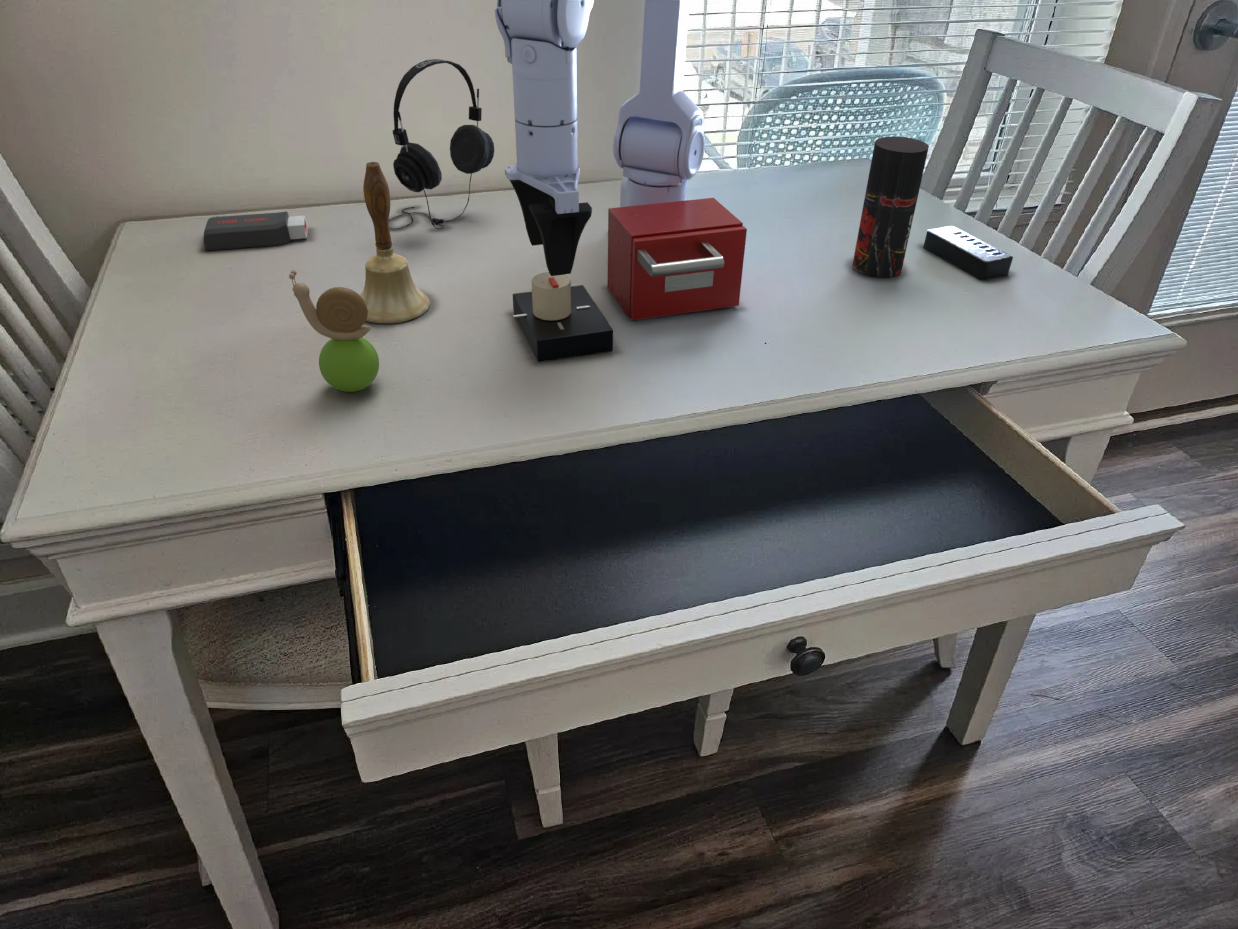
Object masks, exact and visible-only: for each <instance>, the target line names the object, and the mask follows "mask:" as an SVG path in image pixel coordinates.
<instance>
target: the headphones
mask: <svg viewBox="0 0 1238 929" xmlns="http://www.w3.org/2000/svg"><path fill="white" fill-rule="evenodd" d="M439 64H440V65H441V64H448V65H451V66H452V67H454V68H455V69H456V70H457V71H458V72H459V73H460V75H461V76H462V77H463V79H464V81H465V82H466V84H467V87H468V90H469V92H470V98H471V103H472V105H471V106H468V120H470V121H474V122H476V125H475V124H463V125H460V126H459V127H457V129H456V130H455V131H454V132H453V135H452V137H451V139H450V142H449V156H450V160H451V161H452V165H453V166H454V167H455V168H456V169H457V170H458V171H459V172H461V173H463V174H467V175H470V176H469V184H468V185H469V187H468V198H467V203H466V204H465V207H464V208H463V211H462V213H460V214H459V215H458V216H457V217H455V218H454V219H449V220H444V219H443V218H435V217H434V218H432V217H431V216H432V215H431V210H430V204H429V201H428V196H427V193H426V190H433V189H435V188H436V187H439V186H440V184H441V182H442V180H443V176H442V175H443V174H442V170H441V168H440V166H439V163H438V161H437V160H436V158H435V156H434V155H433V154H432V152H430V151H429V150H428V149H426V148H424V147H423V146H422V145H421V144H419V143H416V142H411V141H409V136H408V133H407V129H405V128H404V125H403V122H402V116H401V112H400V106H401V102H402V98H403V95H404V94H405V91H406V89H407V86H408V85H409V84H410V83H411V81H412V80H413V79H414V78H415V77H416V76H417V75H418V74H419V73H421V72H423V71H424V70H426V69H427V68H429V67H432V66H435V65H439ZM475 92H476V93H475ZM479 102H480V88H476V91H475V89H474V84H473V81H472V79H471V77H470V75H469V74H468V72H467V70H466V69H465V68H464V67H463V66H462V65H461V64H459V63H456V62H453V61H451V60H445V59H440V58H433V59H432V58H431V59H426V60H423V61H421V62H418V63H416V64H415V65H413V66H412V67H410V69H408V70H407V72H405V74H404V75H403V76H402V78H401V79H400V81H399V82H398V86H397V88H396V92H395V97H394V101H393V128H394V129H392V135H393V136H392V137H393V139H394V144H395V145H397V146H401V147H400V150H399V153H397V156H396V158H395V159H394V160H393V162H392V166H393V171H394V175H395V177H396V178H397V180H398V181H399V183H400V184H401V185H402V186H403V187H405V188H406V189H407V190H408V191H410V192H414V193H421V192H423V194H424V196H425V199H426V204H427V209H428V214H427V213H423V212H419V214H422V215H423V216H427V218H428V219H429V220H430V222H431V225H432V226H433V227H434V228H435V230H442V229H444V228H445V226H444V225H443V224H442V223H444V222H446V223H449V222H452V221H455V220H457V219H459V218H461V216H462V215H464V212H465V211H466V209H467V207H468V205H469V201H470V196H471V195H470V193H471V183H472V182H471V181H472V175H473V174H476V173H478V172H480V171H481V170H482V169H485V168H488V166H490V164H491V163H492V161H493V159H494V157H495V156H494V155H495V143H494V141H493V139H492V137H491V135H490V134H489V133H487V132H486V131H484V130H482V128H480V127H479V122H482V111H483V108H482V107H479V106H480V105H479V104H480V103H479ZM399 124H400V127H399ZM415 208H416V206H411V207H405V208H403V209H401V213H403V214H399V215H397V216H394V217H392V218H389V222H390V221H391V220H394V219H397V218H399V217H403V216H404V215H408V216H410V218H411V222H410V223H408V224H406V225H404V226H401V227H397V228H394V227H393V228H392V227H389V230H390V229H391V230H401V229H403V228H406V227H408V226H409V227H410V225H411V224H412V223H414V218H413V216H412V215H411V214H412V212H407V211H405V210H409V209H415ZM413 214H418V212H416V211H415V212H413ZM434 223H435V224H434ZM435 225H437V226H438V225H439V226H441V227H436V226H435Z"/></svg>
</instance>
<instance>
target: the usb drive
mask: <svg viewBox="0 0 1238 929" xmlns="http://www.w3.org/2000/svg"><path fill="white" fill-rule="evenodd" d="M307 238H308V225H307V219H306V216H305V215H296V216H295V215H294V216H289V212H288V211H286V210H285V211H279V212H266V213H252V214H251V213H250V214H237V215H223V216H212V217H210V218H208V219H207V220H206V224H205V227H204V230H203V245H204V248H205V251H218V250H219V251H221V250H235V249H246V248H258V247H271V246H282V245H285V244H289V243H291V241H292V240H300V239H307Z"/></svg>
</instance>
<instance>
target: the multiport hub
mask: <svg viewBox="0 0 1238 929" xmlns="http://www.w3.org/2000/svg"><path fill="white" fill-rule="evenodd" d="M922 246H923V247H922V248H924V249H925V250H927V251H929V252H930V253H932V254H934V255H935V256H937V257H938V258H939V257H940V258H941V259H943V260H944V261H946V262H948V263H949V264H952V265H954V267H956V268H959V269H961V271H962V270H963V271H964V272H966V273H968V274H970V275H971V276H972V277H974V278H977V279H978V280H980V281H987V280H990V279H995V278H1001V277H1005V276H1008V275H1009V273H1010V269H1011V267H1012V262H1013V259H1014V257H1013V255H1011V254H1009V253H1007V252H1005V251H1003V250H1001V249H1000V248H998V247H995V246H994V245H992V244H990V243H988V242H986V241H984V240H982V239H980V238H978V237H976V236H974V235H972V234H970V233H968V232H967V231H965V230H963V229H960V228H958V226H957V227H956V226H954V225H947V226H941V227H937V228H930V229H927V230H926V234H925V238H924V242H923V245H922Z"/></svg>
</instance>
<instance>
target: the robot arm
mask: <svg viewBox="0 0 1238 929" xmlns="http://www.w3.org/2000/svg"><path fill="white" fill-rule="evenodd" d="M594 2H595V0H496V7H495V8H494V17H495V22H496V26H497V29H498V31H499V33H500V36H501V37H502V40H503V45H504V57H505V58H506V61H507V62H508V63H509V64H510V65H511V70H512V71H511V72H512V92H513V110H514V130H515V133H514V134H515V150H516V152H515V153H516V164H515V165H509V166H506V167H504V175H505V177H506V178H507V179H508V181H509V182H510V184H511V186H512V187H513V191H514V192H515V194H516V198H517V199H518V202H519V205H520V209H521V212H522V216H523V221H524V225H525V230H526V233H527V237H528V240H529V242H530V245H531V246H532V247H533V246H542V248H543V254H544V259H545V264H546V268H547V272H549V273H550V275H551V276H557V275H571V274H572V271H573V269H574V268H573V267H574V264H575V260H576V254H577V250H578V246H579V243H580V240H581V237H582V234H583V231H584V229H585V227H586V226H587V223H588V222H589V220H591V217H592V213H593V207H592V206H591V204H590V203H589V202H587V201H586V202H580V192H579V190H578V186H579V180H580V175H581V169H580V168H581V166H580V164H579V163H578V162H579V161H578V152H579V151H578V78H577V74H578V70H577V67H578V65H577V64H578V63H577V61H578V60H577V57H578V56H577V52H578V51H577V47H578V46H579V44H580V43H581V42H582V41H583V40H584V38H585V37H586V33H587V31H588V26H589V21H590V15H591V14H590V13H591V11H592V9H593V7H594ZM690 3H691V0H644V7H643V8H644V9H643V26H642V44H641V60H640V61H641V62H640V75H639V76H640V77H639V78H640V79H639V91H638V92H636V94H634V95H632V96H631V97H629V98H628V99H627V100H625V102H623V103H622V105H621V106H620V107H619V112H618V119H617V125H616V129H615V132H614V134H613V141H612V142H613V143H612V150H613V152H612V153H613V157H614V160H615V162H616V164H617V166H618V167H619V168H620V169H622V176H623V177H622V180H621V183H620V191H619V192H620V194H619V197H620V198H619V207H628V206H637V205H647V204H657V203H666V202H676V201H686V200H687V188H688V181H689V180H691V179H692V178H693V177H694V176H696V174H697V173H698V172H699V171H700V168H701V165H702V163H703V159H704V156H705V155H704V154H705V147H706V146H705V145H706V144H705V143H706V142H705V134H704V112H703V110H702V109H701V108H700V107H699V106H698V105H697V104H696V103H695V102H694V101H693V100H692V99H691V98H690V97H689V96H688V95H687V94H686V93H685V92H684V90H683V86H684V76H685V75H684V74H685V61H686V49H687V37H688V26H689V15H690V14H689V12H690Z"/></svg>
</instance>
